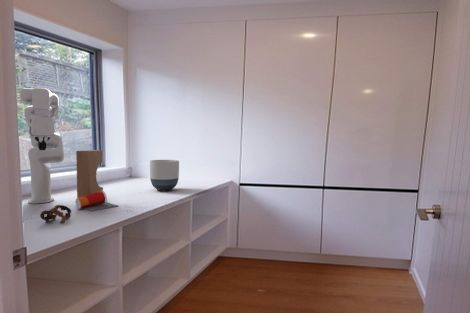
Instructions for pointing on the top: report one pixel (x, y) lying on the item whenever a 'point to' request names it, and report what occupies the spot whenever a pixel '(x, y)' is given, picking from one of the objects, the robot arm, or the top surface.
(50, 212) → the brown looped knot sculpture
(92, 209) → the mat
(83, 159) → the decorative block
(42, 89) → the robot arm
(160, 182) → the planter
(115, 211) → the top surface
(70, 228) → the top surface
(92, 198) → the paper cup
